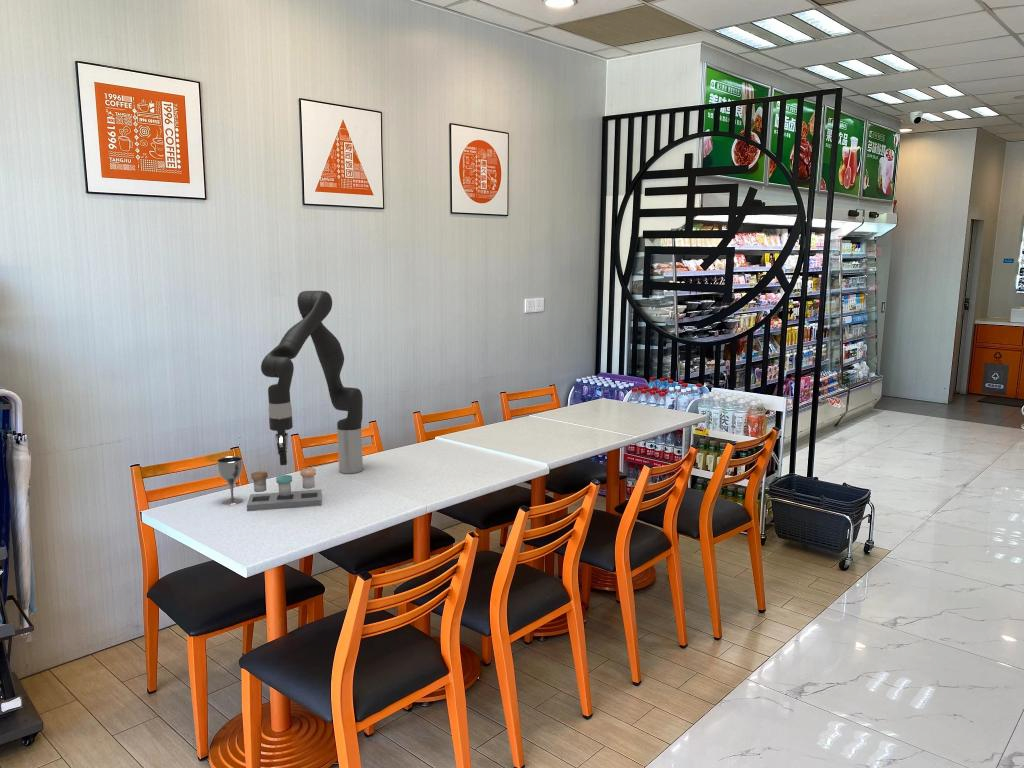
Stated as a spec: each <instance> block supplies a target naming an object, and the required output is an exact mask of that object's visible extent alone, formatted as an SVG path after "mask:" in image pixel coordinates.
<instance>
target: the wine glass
mask: <svg viewBox="0 0 1024 768" xmlns="http://www.w3.org/2000/svg"><path fill="white" fill-rule="evenodd" d="M216 463H217V469H218V473H219V476H220V477H221V478H222V479H223V480H224V481H225V482H226V483H227V484H228V486H229V489H230V490H229V491H230V498H225V499H224V500H222V501H221V504H223V505H228V506H229V505H230V506H231V505H237V504H241V503H243V502H244V499H243V498H240V497H234V488H235V487H234V486H235V483H236V482H237V480H238V479H239V478H240V476H241V474H242V470H243V458H242V457H241V456H231V455H230V456H224V457H220V458H217V462H216Z"/></svg>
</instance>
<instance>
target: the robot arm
mask: <svg viewBox="0 0 1024 768" xmlns="http://www.w3.org/2000/svg"><path fill="white" fill-rule="evenodd" d="M296 300H297V307H298V311H299V313H300V315H301V318H302V319H301V320H300V321H298V322H297V323H295V324H294V325H293V326H292V327H290V328H289V329H288V330H287V331H286V333H284V336H283V337H282V338H281V340H280V342H279V343H278V345H277V346H275V347H274V348H273V349H272V350H271V351H270V352H268V353H267V354H266V355H265V357H263V360H261V365H260V370H261V373H262V375H263V376H265V377H267V378H276V379H277V378H278V380H277V381H278V382H277V383H274V384H271V385H269V386H268V389H267V395H268V397H267V399H268V423H269V424H268V425H269V430H270V431H274V432H275V431H276V432H277V433H275V442H276V449H277V454H278V456H279V465H280V466H287V464H288V456H287V453H288V446H289V442H288V441H289V432H287V431H289V430H291V429H293V427H294V426H293V424H294V423H293V410H292V409H293V408H292V403H291V392H290V390H291V385H292V379H293V376H294V370H295V369H294V368H295V367H294V363H293V361H292V360H293V359H295V358H297V356H298V354H299V352H300V351H301V349H302V348H303V346H304V344H305V342H306V341H308V339H309V337H310V338H311V341H312V343H313V346H314V349H315V352H316V356H317V358H318V361H319V363H320V366H321V369H322V371H323V376H324V378H325V381H326V385H327V389H328V394H329V397H330V402H331V405H332V407H333V408H334V409H335V410H337V411H341V412H342V411H343V412H347V414H346V416H347V417H345V418H343V419H340V420H338V421H337V423H336V427H337V428H336V430H337V450H338V472H340V473H342V474H357V473H361V472H363V470H364V462H363V461H364V460H363V458H364V457H363V439H362V438H363V437H362V435H363V434H362V422H363V410H364V409H363V403H364V402H363V401H364V400H363V399H364V397H363V394H362V391H361V390H360V389H359V388H357V387H346V386H344V385H343V383H342V379H341V372H342V369H343V367H344V363H345V355H344V352H343V348H342V346H341V343H340V341H339V340H338V338H337V337H336V336H335V335H334V333H332V332H331V331H330V330H329V329H328V328H327V327H326V326H325V325H324V323H323V321H324V320H325V319H326V318H327V316H328V315H329V314H330V313H331V310H332V309H333V298H332V296H331V294H330V293H329V292H327V291H326V290H303V291H301V292H299V293H298V296H297V299H296Z"/></svg>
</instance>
